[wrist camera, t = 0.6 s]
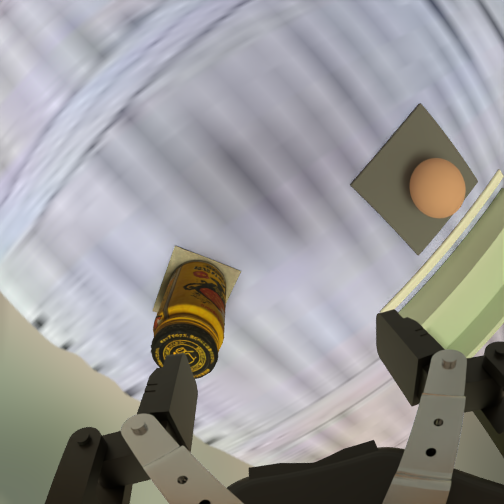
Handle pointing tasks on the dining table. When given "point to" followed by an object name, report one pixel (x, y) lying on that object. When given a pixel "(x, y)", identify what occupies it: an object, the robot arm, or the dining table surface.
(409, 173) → the mat
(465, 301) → the tray
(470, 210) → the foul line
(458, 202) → the ball
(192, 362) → the condiment
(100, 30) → the dining table surface
